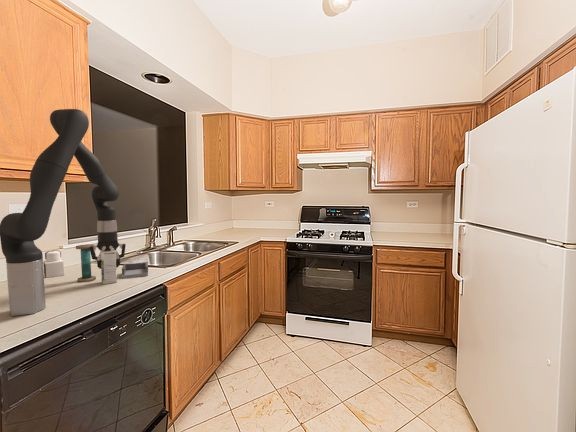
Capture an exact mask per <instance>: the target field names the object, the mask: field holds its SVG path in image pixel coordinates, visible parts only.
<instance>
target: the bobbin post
mask: <svg viewBox="0 0 576 432" xmlns="http://www.w3.org/2000/svg"><path fill="white" fill-rule="evenodd" d="M92 245H93V246H95V244H92V243H91V244H89V243H87V244H79V245H76V246H75V250H80V261H81V262H80V264H81V277H78V278H77V282H78V283H88V282H93V281H95V280H96V279H97V276H95V275H92V262H91V259H92V257H91V252H90V246H92Z"/></svg>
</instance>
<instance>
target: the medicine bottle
mask: <svg viewBox="0 0 576 432" xmlns="http://www.w3.org/2000/svg"><path fill="white" fill-rule="evenodd" d="M43 271H44V278H46V279H49V278H56V277H63V276H65V275H66V274H65V262H64V260H63V259H62V251H60V250H49V251H46V252H45V253H44V260H43Z"/></svg>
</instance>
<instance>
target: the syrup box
mask: <svg viewBox="0 0 576 432" xmlns="http://www.w3.org/2000/svg"><path fill="white" fill-rule="evenodd" d="M116 250H117V249H116ZM116 250H115V251H102V252H101V251H100V252H101V269H100V273H101V285H106V284H107V285H108V284H115V283H117V282H118V281H117V279H118V275H117V273H118V272H117V268H118V267H116V259H117V258H116Z"/></svg>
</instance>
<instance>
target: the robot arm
mask: <svg viewBox="0 0 576 432" xmlns="http://www.w3.org/2000/svg"><path fill="white" fill-rule="evenodd" d="M49 122H50V125H51V126H52V128H53V130H54V131H55V133H56V134H57V135H58V136H57V138H56V139H55V140H54V141H53V142H52V143H50V144H49V146H47V147H46V148H45V149H44V150H43V151H42V152H41V153H40V154H39V155H38V157H36V160H35V162H34V164H33V166H32V169H31V171H30V174H29V187H30V188H29V189H30V196H29V199H28V200H27V203H26V205H25V207H24V209H23V211H22V212H13V213H9V214H6V215H5V216H4V217H3V218H2V219H1V220H0V245H1V246H0V247H1V251H2V254H3V256H4V258H5V263H6V264H5V265H6V276H7V277H6V278H7V290H8V305H9V314H10V316H11V317H17V316H24V315H31V314H33V315H34V314H36V313H37V312H39V311H42V310H44V309H45V308H47V305H46V291H45V275H44V264H43V261H44V259H43V258H44V257H43V251H42V250H41V249H40V248H39V247H38V246H36V244H35V241H37V240H38V239H40V238H41V237H43V235H44V234H45V232H46V230H47V228H48V225H49V220H50V218H51V214H52V210H53V207H54V204H55V201H56V199H57V197H58V193H59V191H60V189H61V186H62V184H63V182H64V180H65V177H66V175H67V173H68V170H69V167H70V165H71V163H72V161H73V158H75V159H76V161H77V162H78V164H79V166H80V167H81V169H82V171H83V173H84V175H85V177H86V178H87V180H88V182H90V183H91V184H93V185H96V186H94V187H93V188H92V191H91V198H92V201H93V203H94V204H93V205H94V207H95V210H96V215H97V216H96V217H97V224H96V231H97V232H96V233H97V244H96V245H95V244H93V245H94V246H93V245H92V246H90V257H91V259H92V260H95V261H96V265H97V266H96V267H97V268H98V269H99V270H101V252H102V251H115V250H116V267H117V268H119V267H120V265H121V258H124V257H125V256H126V255H125V254H126V243H119V241H118V240H119V238H118V224H117V214H116V213H117V212H116V209H115V207H113V206H110V205H109V203H108V202H115V201H118V199H119V197H120V192H119V188H118V187H117V185H116V184H115V183H114V182H113V180H112V179H111V178H110V177H109V176H108V175H107V173H106V171H105V169H104V167H103V165H102V162H100V160H99V159H98V157H97V156H96V155H95V154H94V153H93V152H92V151H91V150H90V149H89V148H88V147H86V145H85V144H84V143H83V141H82V140H83V138H84V137H85V135H86V134H87V132H88V129H89V127H90V126H89V124H90V121H89V117H88V115H87V113H86V112H84V111H83V110H81V109H77V108H64V109H63V108H62V109H56V110H53V111H52V112H51V113H50V115H49ZM118 247H119V248H120V249H121V252H120V253H121V254H119V252H118V250H117V249H118ZM97 249H98V250H99V251H100V252H99V254H98V256H97V255H96V250H97Z"/></svg>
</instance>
